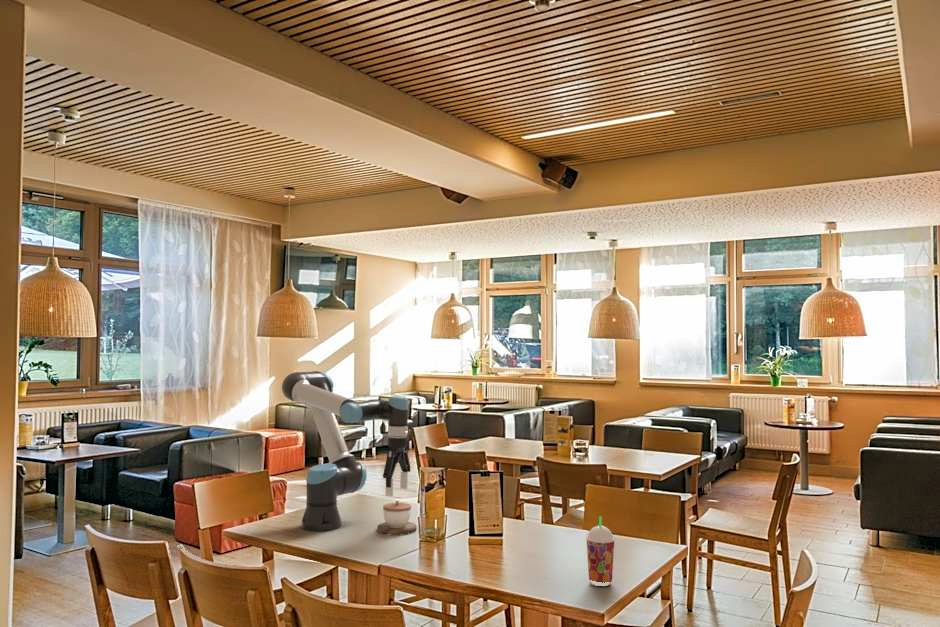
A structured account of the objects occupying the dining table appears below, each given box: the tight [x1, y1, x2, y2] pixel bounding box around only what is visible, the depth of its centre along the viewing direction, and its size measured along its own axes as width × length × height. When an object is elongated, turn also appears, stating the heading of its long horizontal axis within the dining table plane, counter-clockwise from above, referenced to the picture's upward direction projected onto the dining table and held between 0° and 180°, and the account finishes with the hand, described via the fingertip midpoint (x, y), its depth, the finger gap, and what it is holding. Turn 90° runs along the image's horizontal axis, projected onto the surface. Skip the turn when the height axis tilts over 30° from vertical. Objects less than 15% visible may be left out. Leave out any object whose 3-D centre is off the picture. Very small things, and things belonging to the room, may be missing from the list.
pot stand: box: [376, 521, 418, 536], centre depth 276 cm, size 15×15×2 cm
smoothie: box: [586, 516, 615, 583], centre depth 216 cm, size 8×8×20 cm
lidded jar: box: [382, 500, 412, 528], centre depth 276 cm, size 11×11×9 cm
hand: (396, 492), depth 277 cm, fingers open, 13 cm apart
